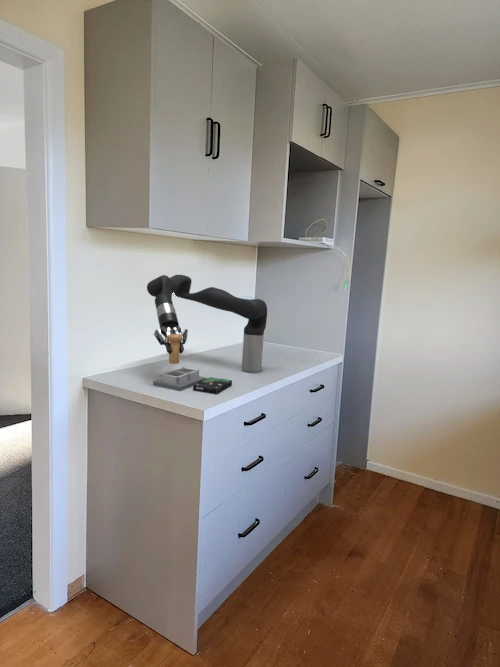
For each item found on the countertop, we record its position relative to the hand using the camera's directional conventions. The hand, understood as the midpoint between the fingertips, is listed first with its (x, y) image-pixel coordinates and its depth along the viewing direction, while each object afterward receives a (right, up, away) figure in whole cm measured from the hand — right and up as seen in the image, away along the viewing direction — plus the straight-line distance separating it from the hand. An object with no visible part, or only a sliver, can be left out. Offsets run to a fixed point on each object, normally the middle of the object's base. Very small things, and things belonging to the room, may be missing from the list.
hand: (176, 352), depth 171 cm
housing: (+1, -13, +7) cm, 14 cm away
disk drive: (+14, -15, +3) cm, 21 cm away
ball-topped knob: (-1, -4, +2) cm, 5 cm away
